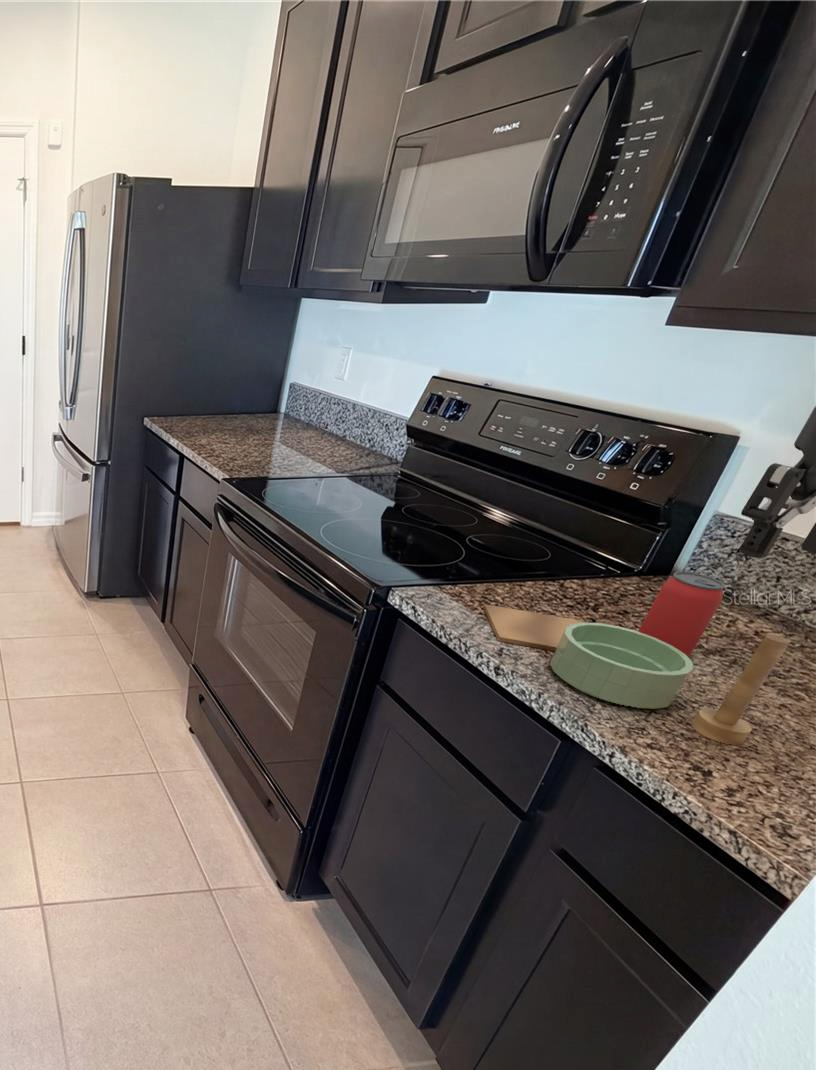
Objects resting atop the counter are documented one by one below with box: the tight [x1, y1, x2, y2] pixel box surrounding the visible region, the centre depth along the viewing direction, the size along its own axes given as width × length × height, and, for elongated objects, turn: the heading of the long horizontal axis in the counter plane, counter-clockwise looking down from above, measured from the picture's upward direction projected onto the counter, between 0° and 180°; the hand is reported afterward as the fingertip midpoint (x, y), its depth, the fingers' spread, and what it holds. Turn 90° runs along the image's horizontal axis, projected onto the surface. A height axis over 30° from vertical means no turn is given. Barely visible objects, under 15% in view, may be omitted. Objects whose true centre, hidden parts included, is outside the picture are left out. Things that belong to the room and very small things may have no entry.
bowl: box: [549, 621, 694, 710], centre depth 91 cm, size 14×14×6 cm
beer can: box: [638, 571, 726, 657], centre depth 98 cm, size 7×7×12 cm
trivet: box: [482, 603, 585, 652], centre depth 104 cm, size 14×12×1 cm
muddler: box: [691, 633, 791, 746], centre depth 79 cm, size 5×5×14 cm
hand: (782, 553), depth 74 cm, fingers open, 8 cm apart
